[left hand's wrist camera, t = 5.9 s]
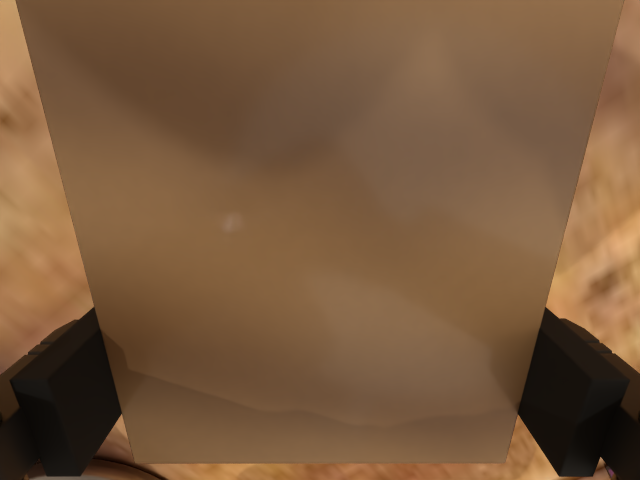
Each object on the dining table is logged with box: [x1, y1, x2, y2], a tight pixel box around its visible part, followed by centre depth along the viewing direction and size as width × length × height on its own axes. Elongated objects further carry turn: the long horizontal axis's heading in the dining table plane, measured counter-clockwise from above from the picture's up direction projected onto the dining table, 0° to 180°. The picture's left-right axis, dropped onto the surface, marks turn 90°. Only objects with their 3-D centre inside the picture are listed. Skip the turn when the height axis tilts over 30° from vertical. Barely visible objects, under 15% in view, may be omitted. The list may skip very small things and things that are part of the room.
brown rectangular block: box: [16, 0, 624, 464], centre depth 11 cm, size 19×11×10 cm, turn 0°
